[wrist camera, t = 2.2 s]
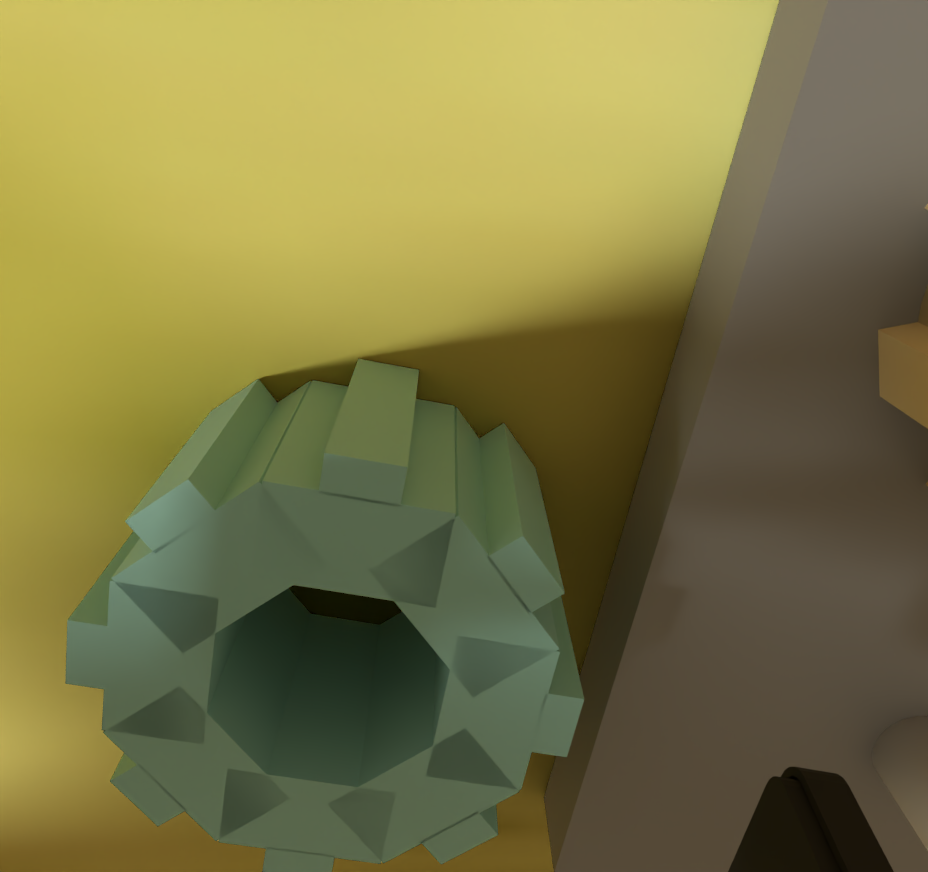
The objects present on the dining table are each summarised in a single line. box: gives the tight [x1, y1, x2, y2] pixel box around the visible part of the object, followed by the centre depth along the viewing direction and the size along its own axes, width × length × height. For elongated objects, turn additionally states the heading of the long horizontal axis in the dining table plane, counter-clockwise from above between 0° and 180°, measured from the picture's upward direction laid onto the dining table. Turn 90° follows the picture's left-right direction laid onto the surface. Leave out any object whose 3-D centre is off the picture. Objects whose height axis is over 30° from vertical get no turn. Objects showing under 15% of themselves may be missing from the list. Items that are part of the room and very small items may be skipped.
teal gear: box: [65, 359, 584, 872], centre depth 15 cm, size 8×8×4 cm
